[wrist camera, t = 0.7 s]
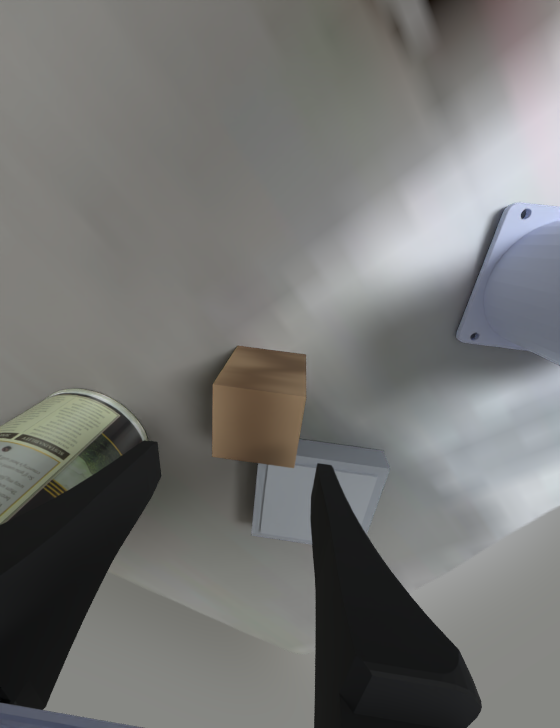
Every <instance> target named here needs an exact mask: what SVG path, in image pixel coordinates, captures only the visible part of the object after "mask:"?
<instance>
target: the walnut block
mask: <svg viewBox="0 0 560 728" xmlns="http://www.w3.org/2000/svg"><path fill="white" fill-rule="evenodd" d="M305 401H306V355H305V354H297V353H289V352H282V351H274V350H266V349H259V348H251V347H243V346H237V347H236V349H235V350H234V352H233V354H232V355H231V357H230V358H229V360H228V361H227V363H226V364H225V366H224V368H223V369H222V371H221V372H220V374H219V375H218V377H217V378H216V380H215V382H214V383H213V409H212V457H218V458H225V459H232V460H239V461H246V462H253V463H260V464H267V465H274V466H281V467H288V468H294V466H295V460H296V455H297V449H298V443H299V437H300V431H301V425H302V419H303V413H304V407H305Z"/></svg>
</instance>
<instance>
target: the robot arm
mask: <svg viewBox="0 0 560 728" xmlns="http://www.w3.org/2000/svg"><path fill="white" fill-rule="evenodd" d="M523 210H525V211H526V216H525V217H524V218H523V219H521V213H522V211H523ZM473 333H476V336H475V337H474V338H471V335H472V334H473ZM456 338H457V339H458V340H459V341H461V342H463V343H470V344H478V345H486V346H494V347H502V348H509V349H517V350H525V351H531V352H533V353H535V354H537V355H539V356H541V357H543V358H545V359H547V360H549V361H551V362H553V363H555V364H557V365H559V366H560V207H557V206H548V205H539V204H530V203H521V202H520V203H513V204H511V205H509V206H507V207H506V208H505V210H504V212H503V214H502V216H501V219H500V222H499V224H498V227H497V229H496V232H495V235H494V237H493V240H492V242H491V245H490V248H489V250H488V253H487V255H486V258H485V260H484V263H483V266H482V268H481V271H480V273H479V276H478V279H477V281H476V284H475V286H474V289H473V292H472V294H471V297H470V299H469V302H468V305H467V307H466V310H465V312H464V315H463V317H462V320H461V323H460V325H459V328H458V330H457V333H456ZM160 477H161V470H160V462H159V453H158V444H157V442H154V441H146V440H144V441H142V442H141V443H139V444H138V445H136V446H135V447H133V448H132V449H130V450H129V451H128V452H126V453H125V454H123V455H122V456H120V457H119V458H117V459H116V460H115V461H113V462H112V463H110V464H109V465H107V466H106V467H104V468H103V469H101V470H100V471H98V472H97V473H95V474H93V475H92V476H90V477H89V478H87V479H85V480H84V481H82V482H81V483H79V484H77V485H76V486H74V487H73V488H71V489H69V490H68V491H66V492H64V493H62V494H61V495H59V496H57V497H55V498H53V499H51V500H50V501H48V502H46V503H44V504H42V505H40V506H38V507H36V508H34V509H32V510H30V511H28V512H26V513H24V514H22V515H20V516H18V517H16V518H14V519H12V520H10V521H7V522H5V523H3V524H1V525H0V728H143V727H137V726H131V725H125V724H119V723H114V722H108V721H103V720H97V719H91V718H85V717H79V716H74V715H68V714H62V713H56V712H51V711H45V710H43V709H44V708H45V707H46V705H47V702H48V700H49V698H50V695H51V692H52V690H53V688H54V686H55V683H56V681H57V679H58V676H59V674H60V672H61V669H62V667H63V664H64V662H65V660H66V658H67V655H68V653H69V651H70V648H71V646H72V644H73V642H74V640H75V637H76V635H77V633H78V631H79V629H80V626H81V624H82V622H83V620H84V618H85V616H86V613H87V612H88V609H89V607H90V605H91V603H92V601H93V599H94V597H95V595H96V593H97V591H98V589H99V587H100V585H101V583H102V581H103V579H104V577H105V575H106V573H107V571H108V569H109V567H110V565H111V563H112V561H113V560H114V558H115V556H116V554H117V553H118V551H119V549H120V547H121V546H122V544H123V543H124V541H125V539H126V538H127V536H128V535H129V533H130V531H131V530H132V528H133V527H134V525H135V523H136V522H137V520H138V518H139V517H140V515H141V514H142V512H143V510H144V509H145V507H146V505H147V504H148V502H149V500H150V499H151V497H152V495H153V493H154V491H155V489H156V486H157V484H158V482H159V480H160ZM310 522H311V535H312V547H313V560H314V572H315V588H316V655H315V657H316V658H315V716H314V728H467V727H468V726H469V725H470V724H471V723H472V722H473V721H474V720H475V719H476V718H477V716H478V715H479V713H480V711H481V708H482V706H481V700H480V697H479V695H478V692H477V689H476V686H475V684H474V681H473V679H472V677H471V674H470V672H469V670H468V668H467V666H466V664H465V662H464V659H463V657H462V655H461V653H460V651H459V650H458V648H457V647H456V646H455V645H454V644H453V643H452V642H451V641H450V640H449V639H448V638H447V637H446V636H445V635H444V633H443V632H442V631H441V630H440V629H439V628H438V627H437V626H436V625H435V624H434V623H433V622H432V620H431V619H430V618H429V617H428V616H427V615H426V614H425V613H424V611H423V610H422V609H421V608H420V607H419V605H418V604H417V603H416V602H415V601H414V600H413V598H412V597H411V596H410V595H409V593H408V592H407V591H406V589H405V588H404V587H403V586H402V584H401V583H400V582H399V581H398V579H397V578H396V577H395V575H394V574H393V573H392V572H391V570H390V569H389V567H388V566H387V565H386V563H385V562H384V560H383V559H382V558H381V556H380V555H379V553H378V552H377V550H376V549H375V547H374V546H373V544H372V543H371V541H370V540H369V538H368V536H367V535H366V533H365V531H364V530H363V528H362V526H361V525H360V523H359V521H358V519H357V518H356V516H355V514H354V512H353V510H352V508H351V506H350V504H349V502H348V500H347V498H346V496H345V494H344V492H343V490H342V488H341V486H340V483H339V481H338V479H337V476H336V474H335V471H334V468H333V467H332V465H328V464H320V463H317V467H316V472H315V478H314V483H313V488H312V493H311V514H310Z"/></svg>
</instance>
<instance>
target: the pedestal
mask: <svg viewBox="0 0 560 728" xmlns="http://www.w3.org/2000/svg"><path fill="white" fill-rule="evenodd" d="M317 463H320V464H328V465H332V467H333V468H334V471H335V474H336V476H337V479H338V481H339V483H340V486H341V488H342V490H343V492H344V494H345V496H346V498H347V500H348V502H349V504H350V506H351V508H352V510H353V512H354V514H355V516H356V518H357V519H358V521H359V523H360V525H361V526H362V528H363V530H364V531H365V533H366V535H367V532H368V530H369V527H370V524H371V521H372V518H373V516H374V513H375V510H376V507H377V504H378V502H379V499H380V496H381V493H382V490H383V488H384V485H385V482H386V479H387V477H388V474H389V471H390V467H389V464H388V461H387V459H386V456H385V453H384V451H382V450H375V449H368V448H361V447H354V446H347V445H340V444H332V443H325V442H318V441H311V440H304V439H299V443H298V449H297V455H296V460H295V466H294V468H288V467H281V466H274V465H267V464H260V463H258V470H257V481H256V491H255V501H254V511H253V522H252V532H251V535H252V536H259V537H266V538H272V539H279V540H285V541H292V542H298V543H305V544H312V535H311V522H310V514H311V493H312V488H313V483H314V478H315V472H316V467H317Z"/></svg>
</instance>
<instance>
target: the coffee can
mask: <svg viewBox="0 0 560 728" xmlns="http://www.w3.org/2000/svg"><path fill="white" fill-rule="evenodd" d="M144 440H146V441H148V438H147V435H146V433H145V431H144V429H143V427H142V425H141V424H140V422H139V421H138V420H137V419H136V417H135V416H134V415H133V414H132V413H131V412H130V411H129V410H128V409H127V408H125V407H124V406H123V405H122V404H120V403H118V402H117V401H115V400H113V399H112V398H110V397H108V396H106V395H103V394H100V393H98V392H94V391H90V390H85V389H65V390H61V391H58V392H55V393H53V394H52V395H50V396H48V397H47V398H46V399H45V400H43V401H42V402H40V403H39V404H37V405H35V406H34V407H32V408H30V409H29V410H27V411H25V412H24V413H22V414H20V415H19V416H17V417H16V418H14V419H12V420H11V421H9V422H7V423H6V424H4V425H2V426H0V525H1V524H3V523H5V522H7V521H10V520H12V519H14V518H16V517H18V516H20V515H22V514H24V513H26V512H28V511H30V510H32V509H34V508H36V507H38V506H40V505H42V504H44V503H46V502H48V501H50V500H51V499H53V498H55V497H57V496H59V495H61V494H62V493H64V492H66V491H68V490H69V489H71V488H73V487H74V486H76V485H77V484H79V483H81V482H82V481H84V480H85V479H87V478H89V477H90V476H92V475H93V474H95V473H97V472H98V471H100V470H101V469H103V468H104V467H106V466H107V465H109V464H110V463H112V462H113V461H115V460H116V459H117V458H119V457H120V456H122V455H123V454H125V453H126V452H128V451H129V450H130V449H132V448H133V447H135V446H136V445H138V444H139V443H141V442H142V441H144Z"/></svg>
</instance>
